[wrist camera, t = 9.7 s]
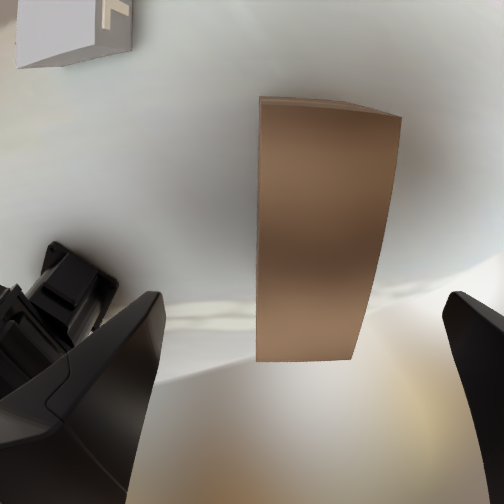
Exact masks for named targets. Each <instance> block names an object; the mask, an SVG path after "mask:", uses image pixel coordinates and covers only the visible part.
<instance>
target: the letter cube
mask: <svg viewBox="0 0 504 504" xmlns="http://www.w3.org/2000/svg"><path fill="white" fill-rule="evenodd" d="M129 51H132V0H19V1H18V12H17V29H16V69H25V68H39V67H63V66H66V65H70V64H74V63H78V62H82V61H86V60H90V59H94V58H98V57H103V56H108V55H113V54H118V53H123V52H129Z"/></svg>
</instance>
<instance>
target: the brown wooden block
mask: <svg viewBox="0 0 504 504" xmlns="http://www.w3.org/2000/svg"><path fill="white" fill-rule="evenodd" d="M401 119H402V117H399V116H395V115H392V114H389V113H385V112H382V111H378V110H374V109H371V108H367V107H363V106H359V105H355V104H351V103H347V102H340V101H330V100H319V99H305V98H288V97H259V150H258V205H257V256H256V362H305V361H306V362H307V361H332V360H351V358H352V355H353V352H354V349H355V346H356V342H357V339H358V335H359V332H360V329H361V326H362V322H363V319H364V315H365V312H366V308H367V304H368V301H369V297H370V293H371V289H372V285H373V281H374V277H375V273H376V269H377V264H378V260H379V256H380V251H381V247H382V242H383V237H384V232H385V227H386V222H387V217H388V212H389V206H390V200H391V195H392V189H393V182H394V176H395V169H396V162H397V154H398V147H399V138H400V129H401Z"/></svg>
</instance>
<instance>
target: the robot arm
mask: <svg viewBox="0 0 504 504" xmlns="http://www.w3.org/2000/svg"><path fill="white" fill-rule="evenodd" d="M53 248H54V249H55V250H54V249H53ZM110 284H112V285H113V286H111V285H110ZM118 286H119V284H118V282H117V281H116V280H115V279H114V278H112V277H110V276H108V275H107V274H105V273H103V272H102V271H100V270H99V269H97V268H95V267H94V266H92V265H90V264H89V263H87V262H86V261H84V260H82V259H81V258H79V257H78V256H76V255H74V254H73V253H71V252H70V251H68V250H67V249H65V248H64V247H62V246H61V245H59V244H58V243H56V242H52V243H50V244H49V246H48V248H47V252H46V255H45V259H44V263H43V267H42V271H41V276H40V278H39V279H38V280H37V281H36V282H35V284H34V285H33V286H32V287H31V288H30V290H29V291H28V292H27V293H26V295H24V294H23V292H22V291H21V290H22V289H21V288H20V286H19V285H18V284H15V285H14V286H13V287H12V288H6V287H3V286H1V285H0V504H125V502H126V497H127V491H128V487H129V482H130V477H131V473H132V469H133V464H134V460H135V456H136V451H137V447H138V443H139V439H140V435H141V431H142V427H143V423H144V419H145V415H146V411H147V407H148V403H149V399H150V396H151V392H152V388H153V385H154V381H155V377H156V374H157V370H158V366H159V360H160V354H161V347H162V341H163V335H164V329H165V323H166V313H165V307H164V302H163V296H162V294H161V292H157V291H147V292H145V293H144V294H143V295H141V296H140V297H139V298H137V299H136V300H135V301H134V302H132V303H131V304H130V305H128V306H127V307H126V308H124V309H123V310H122V311H120V312H119V313H118V314H116V315H115V316H114V317H113V318H111V319H110V320H109V321H107V322H106V323H105V324H103V325H102V326H101V327H100V325H101V322H102V320H103V318H104V316H105V314H106V312H107V309H108V307H109V305H110V303H111V301H112V299H113V297H114V295H115V293H116V291H117V289H118ZM442 319H443V322H444V326H445V329H446V333H447V336H448V340H449V344H450V348H451V351H452V355H453V358H454V361H455V364H456V367H457V370H458V373H459V375H460V379H461V382H462V385H463V388H464V391H465V394H466V398H467V401H468V404H469V408H470V411H471V415H472V418H473V422H474V426H475V430H476V434H477V438H478V442H479V446H480V450H481V455H482V459H483V463H484V470H485V474H486V480H487V486H488V492H489V499H490V504H504V316H502V315H501V314H499V313H498V312H496V311H494V310H493V309H491V308H489V307H488V306H486V305H484V304H483V303H481V302H479V301H478V300H476V299H474V298H472V297H471V296H469V295H468V294H466V293H464V292H462V291H455V292H452V293H451V294H450V295H449V297H448V300H447V302H446V305H445V307H444V310H443V313H442ZM99 327H100V328H99ZM90 331H92V332H93V333H92V334H91V335H89V336H88V334H89V333H90ZM87 336H88V337H87Z"/></svg>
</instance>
